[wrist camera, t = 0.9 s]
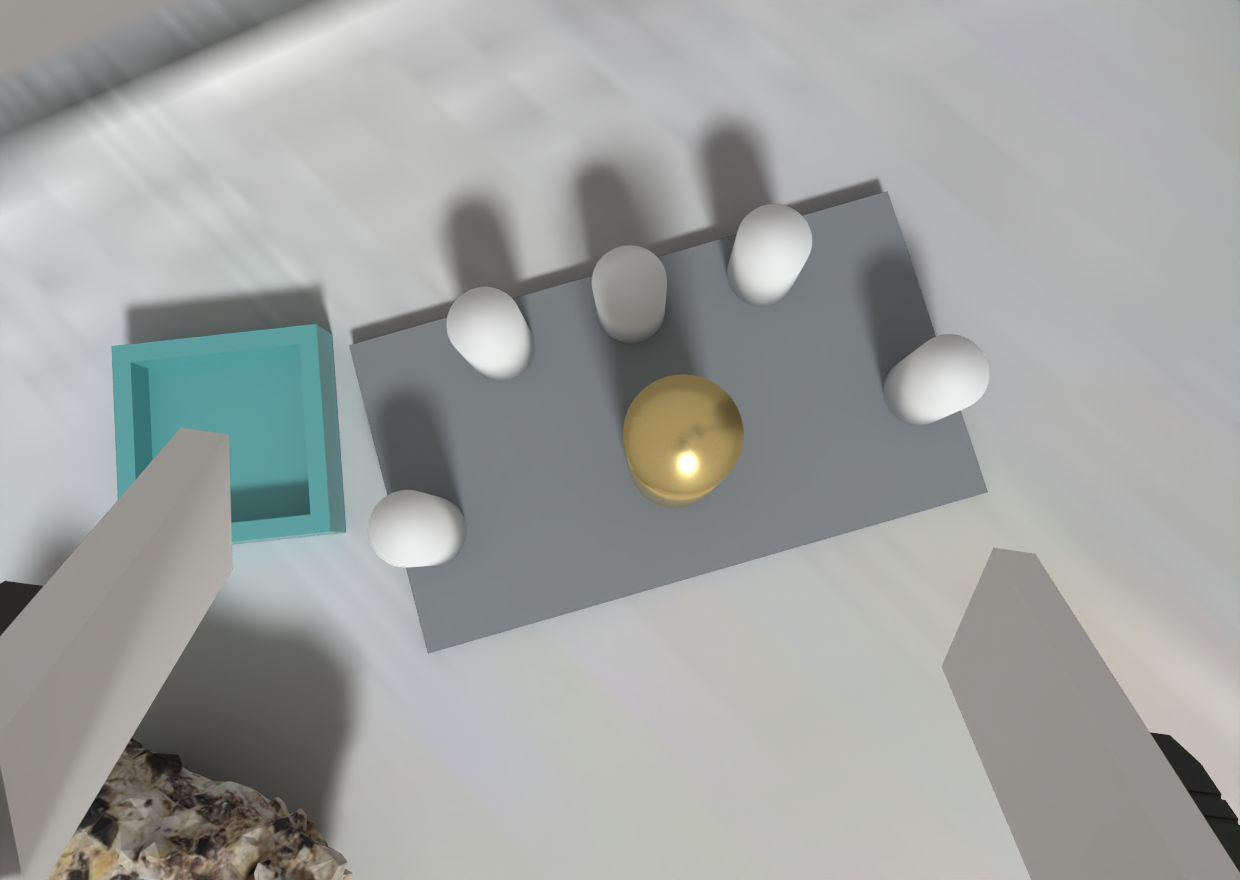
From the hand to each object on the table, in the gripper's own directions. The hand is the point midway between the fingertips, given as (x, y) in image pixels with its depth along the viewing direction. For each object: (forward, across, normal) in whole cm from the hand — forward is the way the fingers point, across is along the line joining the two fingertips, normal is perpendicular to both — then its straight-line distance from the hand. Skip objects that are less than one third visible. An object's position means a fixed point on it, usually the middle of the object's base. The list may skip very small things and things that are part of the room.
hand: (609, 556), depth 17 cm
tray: (+24, -15, -14) cm, 32 cm away
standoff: (+22, +4, -11) cm, 25 cm away
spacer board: (+24, +4, -10) cm, 26 cm away
